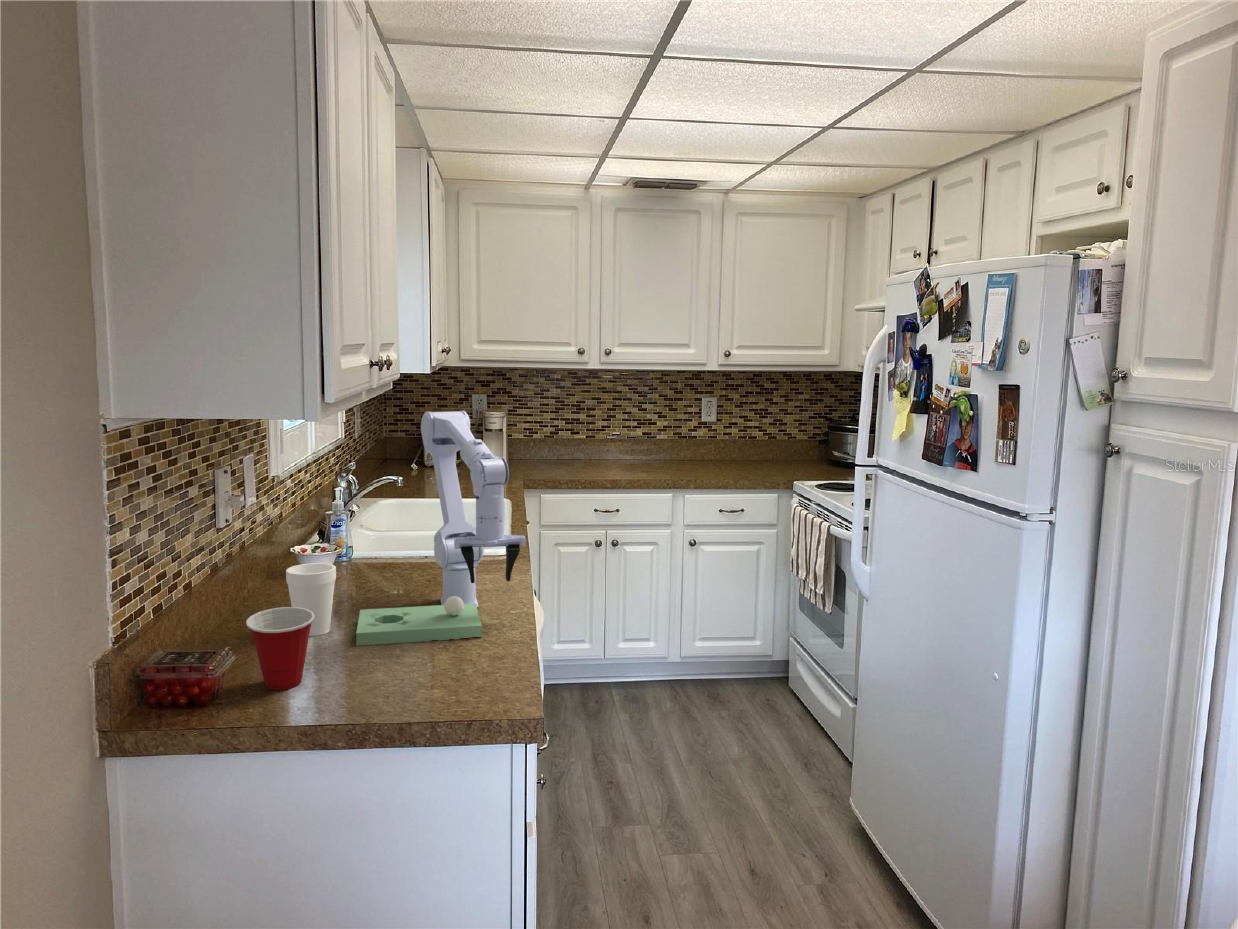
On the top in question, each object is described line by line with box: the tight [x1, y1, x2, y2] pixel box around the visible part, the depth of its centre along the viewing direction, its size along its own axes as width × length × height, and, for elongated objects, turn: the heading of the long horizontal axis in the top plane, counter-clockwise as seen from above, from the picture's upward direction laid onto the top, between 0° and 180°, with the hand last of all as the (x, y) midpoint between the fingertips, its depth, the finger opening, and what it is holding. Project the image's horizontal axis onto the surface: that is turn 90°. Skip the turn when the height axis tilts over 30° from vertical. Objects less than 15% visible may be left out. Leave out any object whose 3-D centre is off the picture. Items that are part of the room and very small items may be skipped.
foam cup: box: [285, 562, 337, 637], centre depth 175 cm, size 10×9×13 cm
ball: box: [444, 596, 464, 616], centre depth 179 cm, size 4×4×4 cm
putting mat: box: [355, 603, 483, 647], centre depth 178 cm, size 16×24×2 cm, turn 104°
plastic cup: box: [245, 606, 315, 691], centre depth 147 cm, size 11×11×12 cm
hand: (490, 581), depth 181 cm, fingers open, 7 cm apart
